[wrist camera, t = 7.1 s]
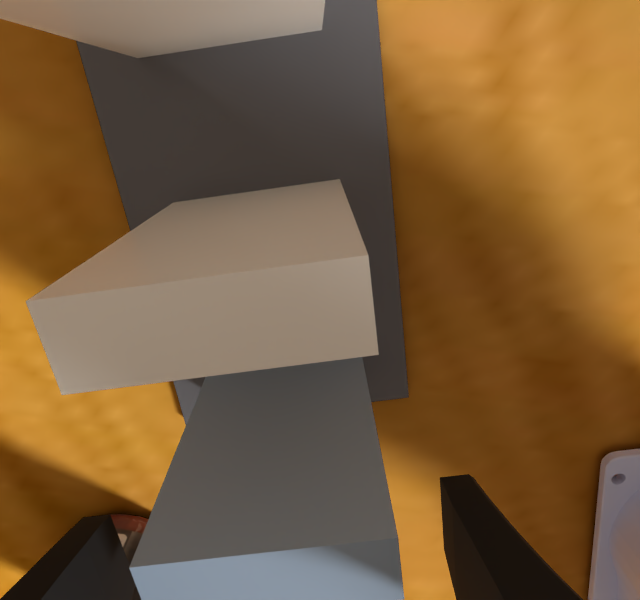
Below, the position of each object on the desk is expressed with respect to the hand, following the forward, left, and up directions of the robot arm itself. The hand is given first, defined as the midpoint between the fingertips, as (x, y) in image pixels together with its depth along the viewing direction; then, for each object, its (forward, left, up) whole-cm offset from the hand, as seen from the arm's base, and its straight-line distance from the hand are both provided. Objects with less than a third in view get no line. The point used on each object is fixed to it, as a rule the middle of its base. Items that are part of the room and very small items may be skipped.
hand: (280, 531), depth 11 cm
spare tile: (0, 0, -7) cm, 7 cm away
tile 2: (+6, 0, -7) cm, 9 cm away
